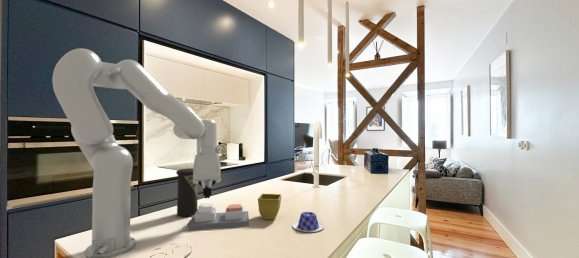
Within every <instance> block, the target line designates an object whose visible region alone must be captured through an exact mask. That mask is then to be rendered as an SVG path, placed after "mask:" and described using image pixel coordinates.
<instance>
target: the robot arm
mask: <svg viewBox="0 0 579 258" xmlns="http://www.w3.org/2000/svg"><path fill="white" fill-rule="evenodd" d="M51 82H52V89H53V92H54V94H55V97H56V99H57V101H58V103H59V104H60V107H61V109H62V110H63V112H64V114H65V116H66V118H67V119H68V122H69V123H70V125H71V127H70V129H71V130H70V131H71V135H72V137H73V139H74V141H75V142H76V144H77V145H78V148H79V149H80V150H81V152H82V154H83V155H84V157H85V159H86V160H87V162H88V163H89V165H90V166H91V168H92V169H93V179H92V180H93V182H92V198H91V199H92V211H91V212H92V216H91V218H92V219H91V220H92V221H91V225H92V226H91V244H90V245H89V246H87V247H86V248H85V250H84V255H85V257H87V258H108V257H113V256H117V255H120V254H122V253H125V252H128V251H130V250H131V249H132V248H134V247H135V246H136V245H137V244H136V243H137V242H136V241H137V240H136V238H135V237H132V236H131V193H132V191H131V190H132V189H131V185H132V175H133V166H134V162H133V156H132V154H131V153H130V151H129V150H128V149H127V148H125V147H123V146H121V145H119V144H118V142H117V140H116V138H115V136H114V135H113V134H114V126H113V123H112V121H111V120H110V118H109V117H108V115H107V113H106V111H105V110H104V108H103V105H102V104H101V103H100V100H99V99H98V96H97V95H96V92H95V88H94V87H99V88H105V89H107V88H108V89H115V90H116V89H117V90H127V91H128V92H130V93H131V94H132V95H133V96H134V97H135V98H136V99H137V100H139V102H141V104H142V105H144V106H145V108H147V109H148V110H150V111H151V112H154V113H156V114H158V115H161V116H163V117H165V118H167V119H168V120H170V121H171V122H173V123H174V125H173V129H172V131H173V134H174V136H176V137H177V138H179V139H182V140H196V154H195V155H194V159H193V167H192V168H193V178H194V179H193V183H195V184H197V185H199V186H200V187H201V188H202V189H203V190H202V192H203V193H202V195H203V197H204V199H210V198H211V196H212V187H214V185H215V184H218V183H221V181H222V177H221V175H222V172H221V171H222V170H221V159H220V154H219V153H218V152H221V147H218V145H217V144H218V143H217V141H218V140H217V134H218V133H217V130H218V129H217V122H216V121H215V120H213V119H201V118H200V117H199V116H198V115H197V114H196V113H195V112H194V111H193V110H192V108H190V107H189V106H188V105H186V104H185V103H184V102H183V101H181V100H179V99H178V98H177V97H175V96H174V95H172V94H171V93H169V92H168V91H167V90H166V89H165V88H164V87H163V86H162V85H161V84H160V82H158V81H157V80H156V78H154V76H152V75H151V73H150V72H148V71H147V69H145V68H144V67H143V66H142V65H141V64H140V63H139V62H138V61H136V60H133V59H123V60H121V61H119V62H117V63H111V62H105V61H102V60H101V57H99V55H98V54H96V53H95V52H94V51H92V50H90V49H87V48H83V47H82V48H80V47H79V48H75V49H72V50H70V51H68V52H66V53H65V54H64V55H63V56H62V57H60V59H59V60H58V61H57V63H56V65H55V67H54V70H53V73H52V80H51ZM207 181H209V182H208V185H207Z"/></svg>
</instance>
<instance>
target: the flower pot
mask: <svg viewBox="0 0 579 258" xmlns="http://www.w3.org/2000/svg"><path fill="white" fill-rule="evenodd" d="M281 202H282V194H278V193H261V194H260V195H259V197H257V204H258V212H259V215H260V218H261V219H263V220H276V217H277V216H278V213H279V211H280V208H281Z"/></svg>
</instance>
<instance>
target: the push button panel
mask: <svg viewBox="0 0 579 258" xmlns="http://www.w3.org/2000/svg"><path fill="white" fill-rule="evenodd" d="M244 210H245V209H244V205H241V211H231V212H228V206H226V207H225V212H217V207H213V213H198V210H197V212H196V213H195V214H194V215H193V216H191V219H190V220H189V222H188V224H187V231H197V230H210V229H226V228H238V227H239V228H240V227H250V218H249V211H248V210H247V211H246V210H245V211H244Z"/></svg>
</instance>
